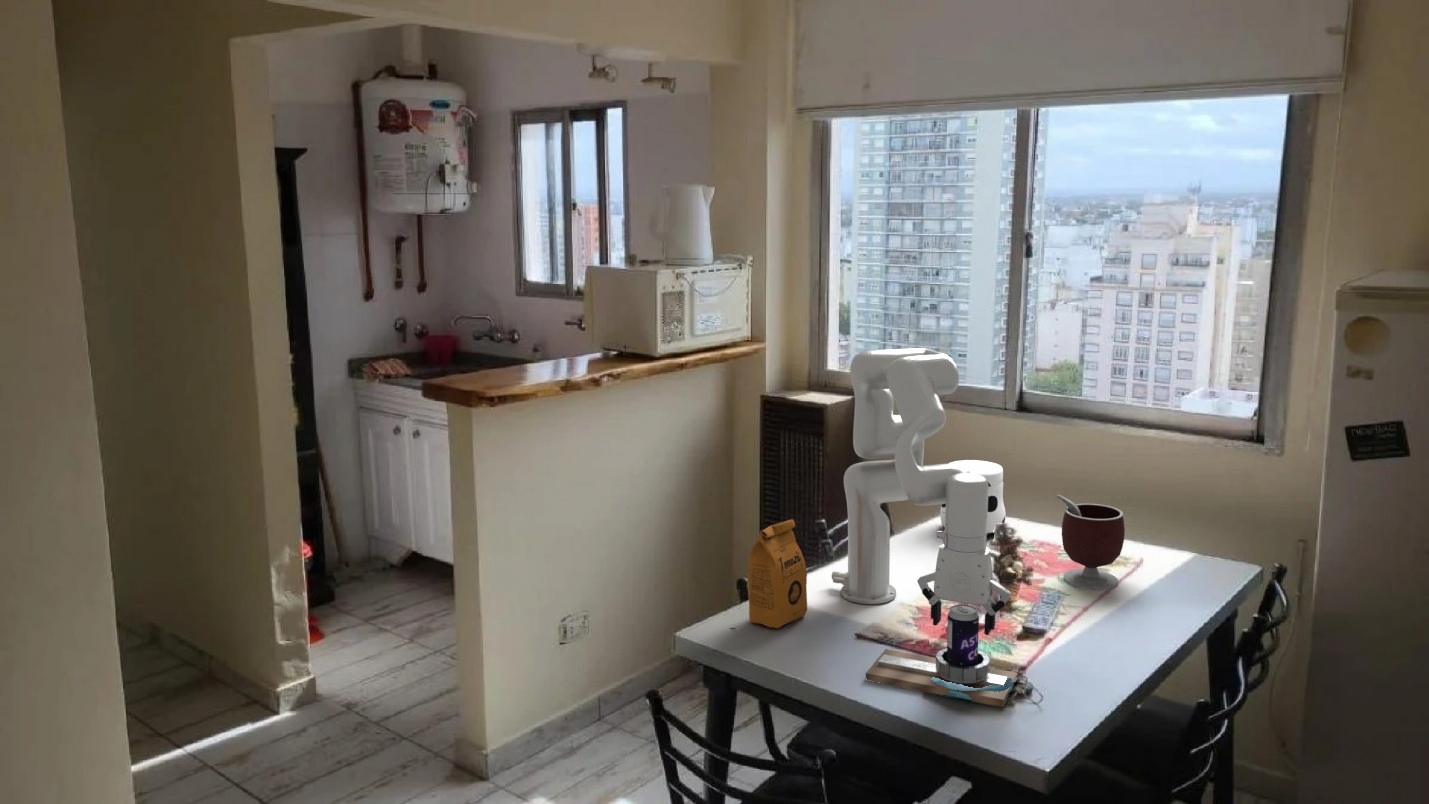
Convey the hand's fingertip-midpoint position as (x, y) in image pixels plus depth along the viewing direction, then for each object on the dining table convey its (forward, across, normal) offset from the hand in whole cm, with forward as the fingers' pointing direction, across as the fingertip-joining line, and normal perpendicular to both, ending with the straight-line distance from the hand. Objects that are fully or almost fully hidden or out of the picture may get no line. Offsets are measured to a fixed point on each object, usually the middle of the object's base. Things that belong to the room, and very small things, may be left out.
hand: (962, 627), depth 198 cm
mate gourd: (+12, +14, +65) cm, 68 cm away
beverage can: (+8, 0, 0) cm, 9 cm away
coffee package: (+12, -44, +13) cm, 47 cm away
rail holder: (+10, -4, -1) cm, 10 cm away
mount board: (+11, -4, -1) cm, 12 cm away
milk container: (+13, -20, +92) cm, 95 cm away
